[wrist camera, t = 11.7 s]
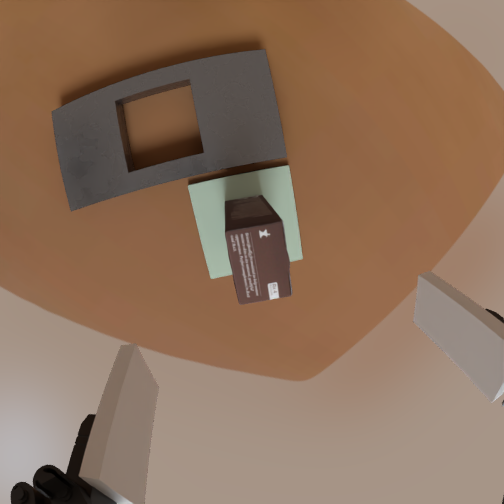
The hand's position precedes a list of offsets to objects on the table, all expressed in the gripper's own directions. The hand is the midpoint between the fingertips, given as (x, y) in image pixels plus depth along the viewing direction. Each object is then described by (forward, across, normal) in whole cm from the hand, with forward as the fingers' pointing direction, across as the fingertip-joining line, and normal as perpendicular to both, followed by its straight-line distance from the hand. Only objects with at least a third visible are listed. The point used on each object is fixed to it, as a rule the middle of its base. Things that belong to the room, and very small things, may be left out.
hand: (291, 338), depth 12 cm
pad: (+21, +1, 0) cm, 21 cm away
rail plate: (+22, -6, +12) cm, 26 cm away
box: (+21, 0, 0) cm, 21 cm away
